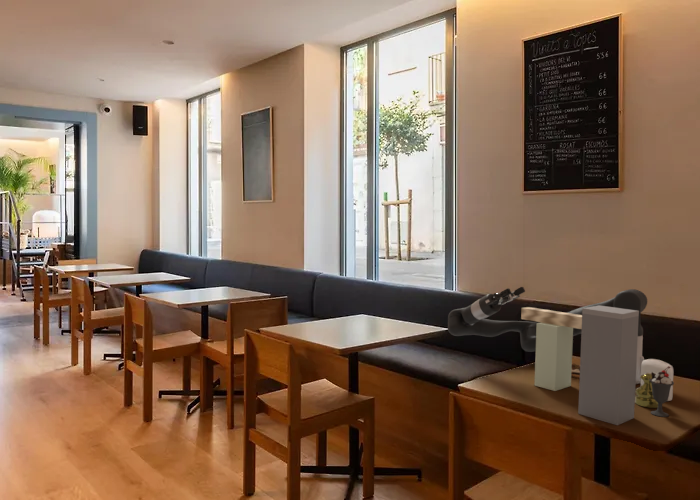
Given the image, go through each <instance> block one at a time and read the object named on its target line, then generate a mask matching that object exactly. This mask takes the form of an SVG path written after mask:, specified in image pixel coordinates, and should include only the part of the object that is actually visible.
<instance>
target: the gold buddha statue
mask: <svg viewBox="0 0 700 500" xmlns="http://www.w3.org/2000/svg"><path fill="white" fill-rule="evenodd" d="M640 378H641V379H642V380H643V381H644V384H643V385H641V384H640V386H638V387H635V404H636V405H637V406H640V407H644V408H649V409H657V408H658V402H657V401H655V399H654V398H653V394H652V384H651V381H649V380H650V379H652V375H651V373H646V374H643V375H641V376H640Z"/></svg>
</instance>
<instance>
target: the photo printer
mask: <svg viewBox="0 0 700 500" xmlns="http://www.w3.org/2000/svg"><path fill="white" fill-rule="evenodd" d="M668 366H669V367H670V368H669V369H668ZM666 368H667V369H668V370H667V369H666ZM665 369H666V370H667V374H669V376H668V377H669V378H670V379H671V381H673V382H674V367H673V365H671V364H670V363H668V362H666V361H663V360H660V359H656V358H648V359H644V360H643V362H642V364H641V375H643V374H646V373H654V374H656V373H658V372H662V370H665ZM666 370H665V371H666ZM643 384H644V381H643V380H642V379H641V383H640V386H641V385H643ZM673 393H674V384H673V385H672V386H671V388H670V393H669V397H668V400H667V401H666V402H669V401H672V400H673V395H674V394H673Z"/></svg>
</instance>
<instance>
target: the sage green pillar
mask: <svg viewBox="0 0 700 500" xmlns="http://www.w3.org/2000/svg"><path fill="white" fill-rule="evenodd" d="M536 323H537V328H536V351H535V362H534V386H535V387H540V388H541V389H542V388H543V389H546V390H551V391H553V392H556V391H559V390H562V389H566V388H568V387H571V385H572V377H571V370H572V364H573V343H574V340H573V339H574V336H573V328H571V327H565V326H560V325H554V324H548V323H542V322H536Z"/></svg>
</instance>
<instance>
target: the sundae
mask: <svg viewBox="0 0 700 500" xmlns="http://www.w3.org/2000/svg"><path fill="white" fill-rule="evenodd" d="M669 368H670V367H669V366H668V369H669ZM666 369H667V368H666ZM666 369H665V370H666ZM668 369H667V370H668ZM665 370H662V372H658V373H656V374H654V373H651V375H652V379H650V380H649V381H651V384H652V394H653V398H654V399H655V401H657V402H658V408H656V410H651V411H650V414H651V415H652V416H656V417H661V418H667V417H669V416H670V415H669V413H667V412H664V410H663V404H665V403H666V402H668V401H667V400H668V397H669V393H670V388H671V386H672V385H673V386H674V384H675V382H674V380H673V381H671V379H670V378H669V377H668V376H669V374H667V370H666V371H665Z"/></svg>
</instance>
